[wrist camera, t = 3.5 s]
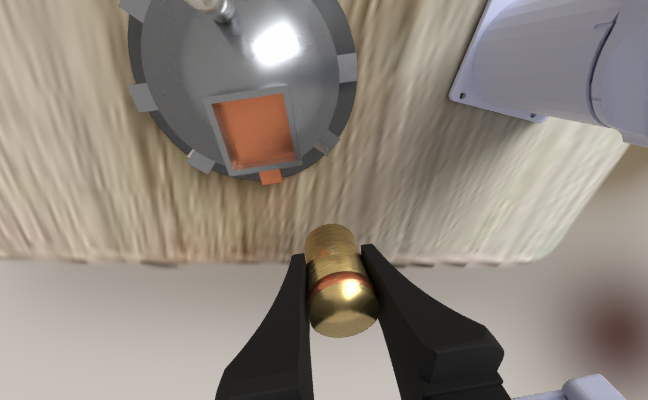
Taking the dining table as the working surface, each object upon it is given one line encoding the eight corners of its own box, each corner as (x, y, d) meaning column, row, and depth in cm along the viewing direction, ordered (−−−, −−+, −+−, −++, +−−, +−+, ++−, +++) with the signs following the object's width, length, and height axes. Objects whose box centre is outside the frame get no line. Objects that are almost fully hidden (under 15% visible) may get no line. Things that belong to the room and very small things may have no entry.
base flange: (384, -20, 15) (386, -22, 15) (329, 190, 22) (330, 192, 22) (110, -117, 12) (105, -122, 12) (144, 162, 19) (142, 164, 19)
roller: (362, 227, 15) (391, 293, 11) (347, 267, 16) (367, 339, 12) (310, 219, 14) (318, 286, 10) (299, 261, 16) (301, 336, 11)
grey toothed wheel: (376, -15, 15) (415, -53, 10) (326, 187, 21) (335, 222, 17) (117, -104, 12) (3, -215, 7) (148, 159, 18) (97, 191, 14)
